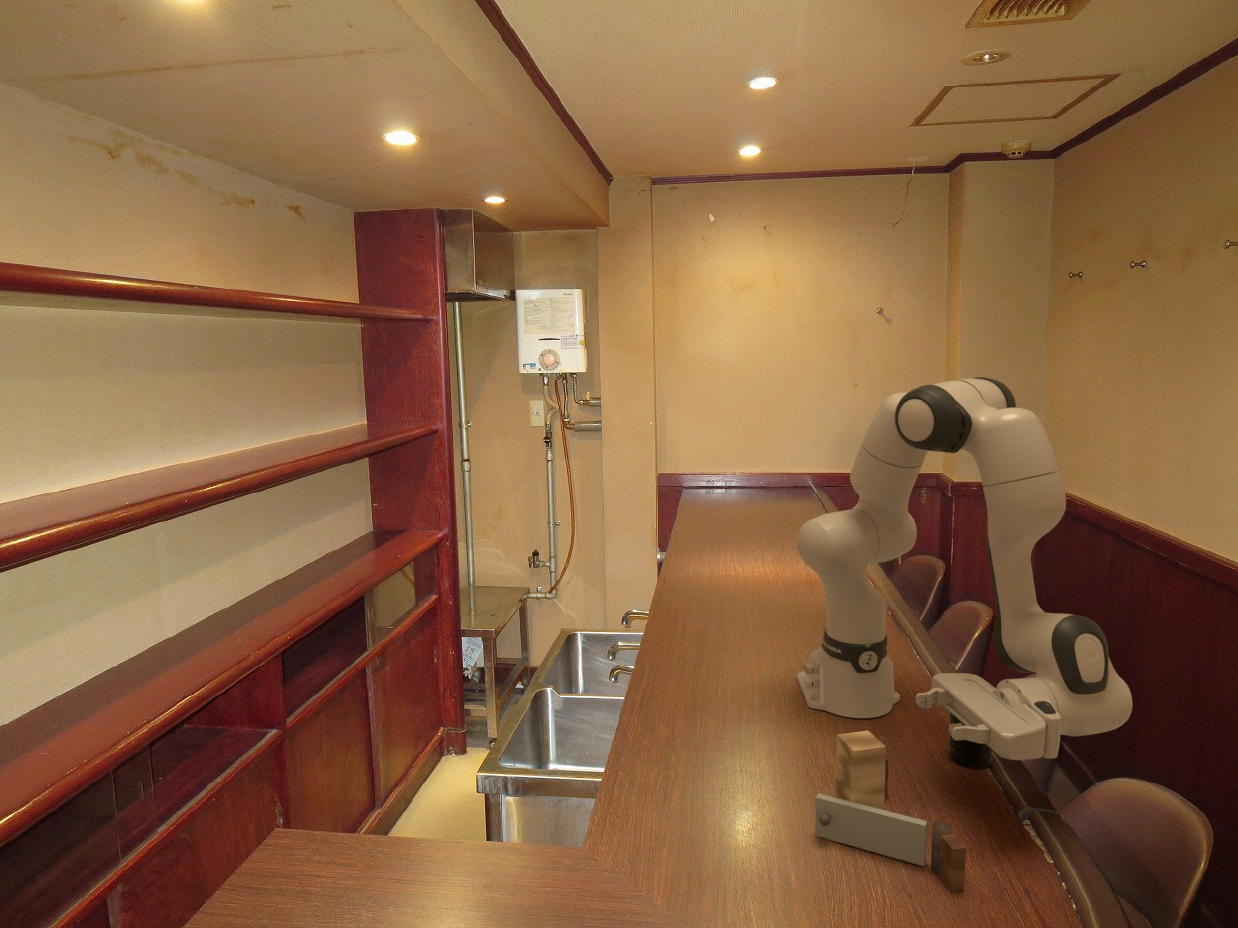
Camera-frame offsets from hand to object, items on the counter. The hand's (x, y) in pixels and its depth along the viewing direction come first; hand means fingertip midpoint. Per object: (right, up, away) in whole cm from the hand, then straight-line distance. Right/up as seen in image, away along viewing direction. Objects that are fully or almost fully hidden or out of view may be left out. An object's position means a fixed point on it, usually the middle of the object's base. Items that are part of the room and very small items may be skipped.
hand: (934, 715), depth 120 cm
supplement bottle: (+13, -13, +19) cm, 27 cm away
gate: (-11, -17, -5) cm, 21 cm away
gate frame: (-4, -17, 0) cm, 17 cm away
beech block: (-11, -17, 0) cm, 20 cm away
